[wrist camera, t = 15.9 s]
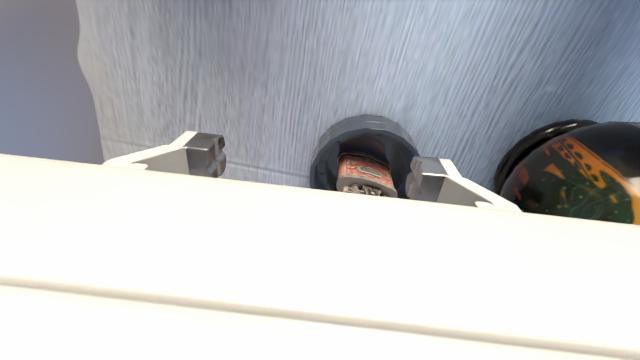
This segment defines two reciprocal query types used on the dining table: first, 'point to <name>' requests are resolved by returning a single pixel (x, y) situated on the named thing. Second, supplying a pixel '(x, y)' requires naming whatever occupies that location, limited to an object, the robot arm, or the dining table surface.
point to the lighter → (364, 175)
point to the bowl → (363, 150)
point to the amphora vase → (575, 171)
